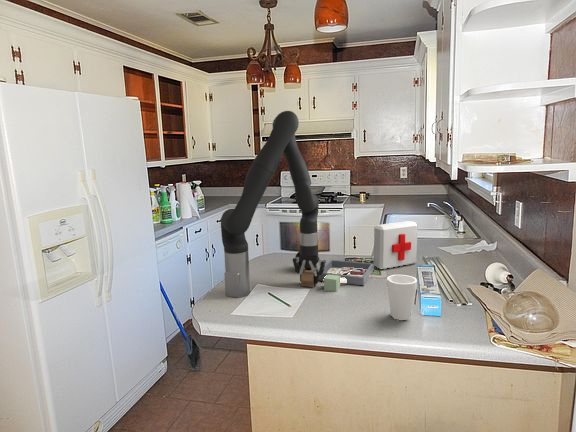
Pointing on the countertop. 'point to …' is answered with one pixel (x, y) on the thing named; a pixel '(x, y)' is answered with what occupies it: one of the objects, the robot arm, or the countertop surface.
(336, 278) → the sage green block
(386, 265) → the bevelled white case
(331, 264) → the tray
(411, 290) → the foam cup
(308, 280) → the walnut block
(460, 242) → the countertop surface
